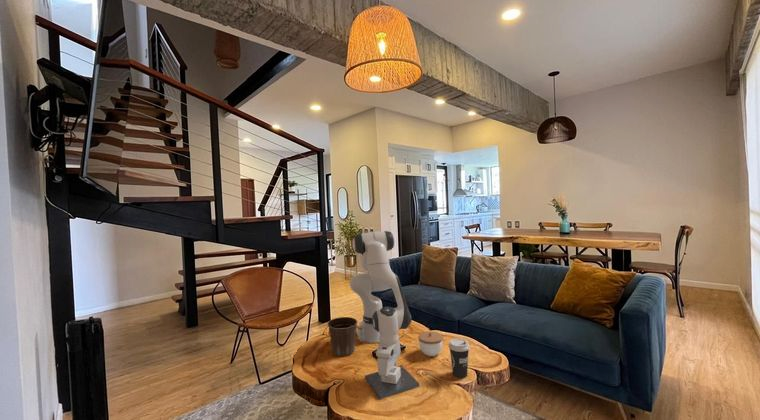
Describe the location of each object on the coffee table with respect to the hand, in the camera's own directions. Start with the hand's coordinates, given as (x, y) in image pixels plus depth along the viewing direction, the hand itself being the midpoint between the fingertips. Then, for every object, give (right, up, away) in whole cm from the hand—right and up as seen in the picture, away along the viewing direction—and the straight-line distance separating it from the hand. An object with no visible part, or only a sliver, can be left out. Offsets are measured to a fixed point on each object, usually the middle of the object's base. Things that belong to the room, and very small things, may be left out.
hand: (390, 374), depth 144 cm
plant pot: (-25, -4, +32) cm, 40 cm away
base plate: (0, -3, 0) cm, 3 cm away
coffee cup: (+32, -2, +4) cm, 32 cm away
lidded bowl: (+22, -2, +25) cm, 33 cm away
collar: (0, -2, 0) cm, 2 cm away
